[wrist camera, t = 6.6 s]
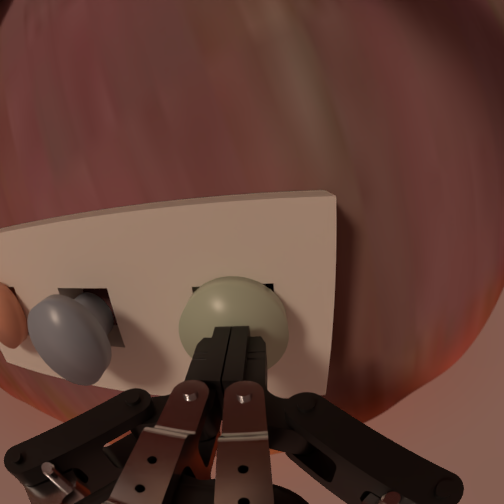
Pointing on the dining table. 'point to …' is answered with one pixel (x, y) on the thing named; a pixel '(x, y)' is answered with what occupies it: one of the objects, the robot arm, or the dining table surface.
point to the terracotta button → (11, 318)
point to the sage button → (235, 314)
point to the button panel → (183, 278)
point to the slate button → (73, 335)
